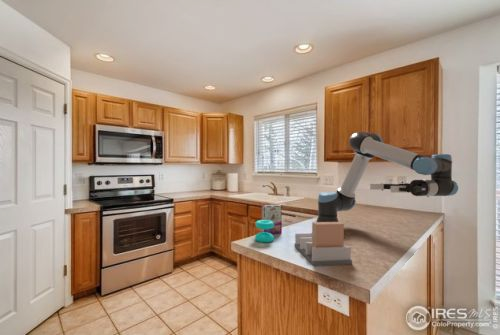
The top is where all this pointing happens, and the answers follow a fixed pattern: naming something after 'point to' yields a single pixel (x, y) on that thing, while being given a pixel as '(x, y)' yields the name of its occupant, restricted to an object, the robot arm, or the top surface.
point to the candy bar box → (273, 217)
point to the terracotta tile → (327, 234)
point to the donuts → (264, 235)
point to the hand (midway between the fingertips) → (380, 187)
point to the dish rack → (322, 252)
